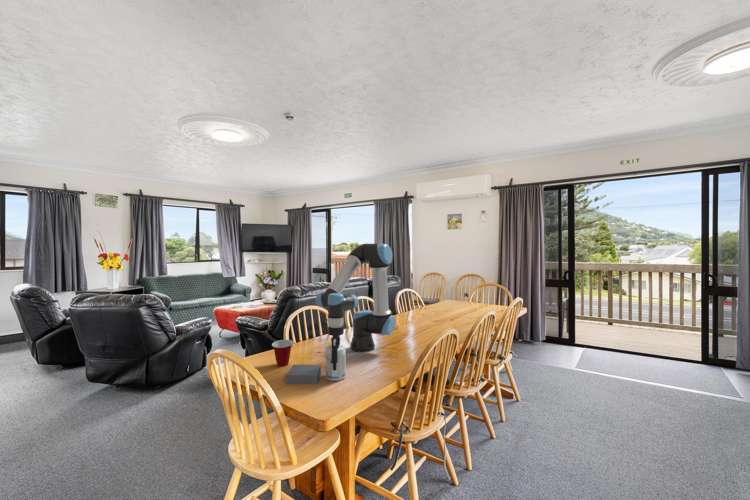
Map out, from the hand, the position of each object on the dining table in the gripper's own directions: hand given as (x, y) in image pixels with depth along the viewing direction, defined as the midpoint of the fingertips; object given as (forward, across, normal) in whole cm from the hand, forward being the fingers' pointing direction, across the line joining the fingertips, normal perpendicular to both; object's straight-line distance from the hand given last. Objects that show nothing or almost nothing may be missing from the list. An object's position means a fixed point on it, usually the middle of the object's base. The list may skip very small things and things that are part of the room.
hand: (335, 372), depth 165 cm
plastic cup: (+3, -18, -30) cm, 35 cm away
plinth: (+3, 0, -15) cm, 15 cm away
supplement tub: (+3, 0, 0) cm, 3 cm away
